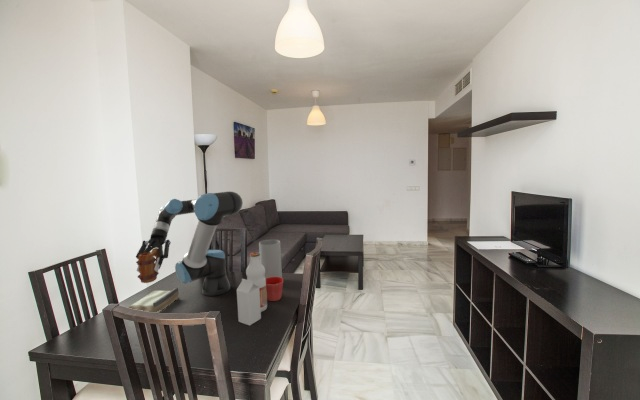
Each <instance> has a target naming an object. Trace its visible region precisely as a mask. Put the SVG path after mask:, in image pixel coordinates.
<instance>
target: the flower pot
mask: <svg viewBox="0 0 640 400" xmlns="http://www.w3.org/2000/svg"><path fill="white" fill-rule="evenodd" d="M283 286H284V278H283V277H282V278H281V277H269V278H266V291H267V301H269V302H277V301H280V299H282V294H283Z"/></svg>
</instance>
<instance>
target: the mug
mask: <svg viewBox="0 0 640 400" xmlns="http://www.w3.org/2000/svg"><path fill="white" fill-rule="evenodd" d="M159 256H160V255H159V249H158V248H153V250H151V251H150V252H149V253H143V254H140V255H139V256H138V259H139V260H138V259H137V260H136V264H138V265H139V269H140V273H139V275H137V278H138V279H139V280H140V283H142V284H149V283H152V282H155V281H156V280H157V278H158V275H159V273H160V272H159V271H158V272H156V271H155V270H154V268H155V265H156V262H157V259H158V257H159ZM159 258H160V257H159ZM138 265H137V266H138ZM161 267H162V264H161V265H160V267H159V270H160V269H161Z"/></svg>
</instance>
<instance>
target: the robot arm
mask: <svg viewBox="0 0 640 400" xmlns="http://www.w3.org/2000/svg"><path fill="white" fill-rule="evenodd" d="M242 208H243V198H242V197H241V195H240V194H238V193H237V192H235V191H221V192H209V193H204V194H201V195H199V196H198V197H197V198H196V199H190V200H180V199H177V198H172V199H170V200H169V201H168V202H167V203H166V204H165V206H161V207H160V208H159V211H158V214H157V217H156V220H155V223H154V225H153V228H152V231H151V235H150V237H149V239H148V240H142V244H141V246H140V248H139V249H138V251H137V253H136V256H135V258H136V259H137V261H138V260H139V259H138V256H139V255H140V254H143V253H149V252H152V250H153V249H154V248H158V249H159V255H160V256H159V257H160V258H159V257H158V259H157V262H156V261H155V262H156V265H155V268H154V270H155V271H156V272H158V273H159V270H160V269H159V267H160V265H161V266H162V265H163V261H164V259H168V258H169V251H170V245H171V242H172V241H170V239H167V238H168V233H169V231H170V227H171V224H172V221H173V220H174V219H175V217H177V216H180V215H187V214H194V215H195V217H196V219H197V221H198V222H197V225H196V228H195V230H194V231H195V232H194V234H193V238H192V240H191V243H190V247H189V250H188V252H187V253H185V254H184V255H183V258H182V260H181V261H178V262H175V264H174V265H175V266H174V270H175V274H176V276H177V278H178V280H179V281H180V283H182V284H189V283H193V282H195V281H197V280H200V279H202V278H203V279H204V281H203V284H202V286H201V287H202V288H201V293H202V294H203V295H205V296H209V297H211V296H213V297H214V296H219V295H224V294H226V293H228V292H229V291H230V290H231V284H230V281H229V279H228V276H227V269H226V254H225V252H224V251H223V250H221V249H209V248H210V246H211V243H212V241H213V238H214V236H215V235H214V234H215V232H216V229H217V227H218V226H219V225H221V223H222V222H223V220H224V217H227V216H232V215H235V214H237V213H239V212H240V211H241V209H242ZM163 245H164V250H163ZM136 264H137V263H136ZM160 268H161V267H160ZM136 271H137V272H138V273H139V274H140V269H139V265H138V264H137V268H136Z"/></svg>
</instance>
